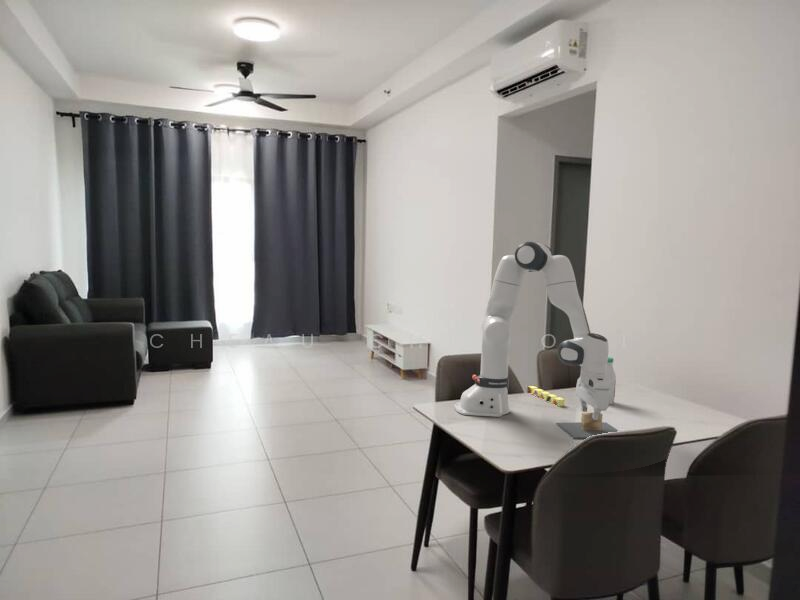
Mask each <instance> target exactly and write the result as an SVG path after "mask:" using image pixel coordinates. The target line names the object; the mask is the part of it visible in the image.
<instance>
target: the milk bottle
mask: <svg viewBox="0 0 800 600" xmlns="http://www.w3.org/2000/svg"><path fill="white" fill-rule="evenodd" d="M613 364H614V358H613V357H609V356H608V361H607V364H606V370H607V373H606V376H607V378H608V380H609V381H610V383H611V384H612V387H611V389H609V391H610V398H609V405H613V404H614V403H615V398H616V397H615V396H616V395H615V394H616V381H617V380H616V379H617V378H616V372H615V370H614V367H613Z"/></svg>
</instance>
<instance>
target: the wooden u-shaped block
mask: <svg viewBox="0 0 800 600" xmlns="http://www.w3.org/2000/svg"><path fill="white" fill-rule="evenodd" d="M593 413H594V412H582V413H581V429H582V430H602V422H603V416H604V415H603V413H601V412H600V414H599V416H598V420H594V419H592V414H593Z"/></svg>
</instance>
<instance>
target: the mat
mask: <svg viewBox="0 0 800 600" xmlns="http://www.w3.org/2000/svg"><path fill="white" fill-rule="evenodd" d="M555 424H556V425H557V426H558V427H560V429H561V430H563V431H564V432H565V433H566V434H567V435H569V436H570V437H573V438H572V439H573V440H585V439H584V438H587V437H589V436H592V435H597V434H602V433H608V432H617V431H619V430H618V429H617V428H616V427H614V426H613V425H611V424H609V422H604V421H602V430H582V429H581V422H580V421H579V422H578V421H577V422H575V421H574V422H556V423H555ZM578 438H580V439H578Z"/></svg>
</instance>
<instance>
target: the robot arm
mask: <svg viewBox="0 0 800 600" xmlns="http://www.w3.org/2000/svg"><path fill="white" fill-rule="evenodd" d="M530 272H531V273H532V272H541V273H542V275H543V277H544V281H545V282H544V283H545V287H546V289H545V290H546V294H547V297H548V300H549V302H550V304H552V305H553V306H554V307H556V308H557V309H559V310H561V311H563V312H564V313H565V314H566V315H567V317H568V319H569V323H570V327H571V330H572V334H573V338H572V339H566V340H564V341H562V342H560V343H559V345H558V347H557V351H556V353H557V357H558V359H559V361H560V362H561V363H562V364H563V365H566V366H580V374H579V378H577V381H576V387H575V395H576V397H577V398H579V399H580V401H579V402H580V411H581V412H582V413H588V405H589V406H591V407H592V408H593V412H592V413H593V414H592V419H594V420H598V416H599V414H600V413H601V412H602V411H603V412H605V411H607V410H608V408H609V405H610V404H609V398H610V391H609V389H611V387H612V384H611V383H610V381H609V380H608V378H607V376H606V373H607V370H606V364H607V361H608V357H609V342H608V339H607V338H606V337H605V336H603V335H601V334H598V333H593V332H591V329H590V326H589V323H588V319H587V315H586V311H585V308H584V304H583V302H582V300H581V296H580V294H579V290H578V286H577V280H576V276H575V272H574V268H573V265H572V262H571V261H570V259H569V258H568V257H567V256H566V255H562V254H556V255H554V253H553V251H552V249H551V248H550V247H549V246H547V245H546V244H543V243H541V242H538V241H537V242H535V241H525V242H523V243H520V245H518V246H517V247H516V249H515V252H514V254H507V255H504V256H503V257H502V258H500V261H499V263H498V265H497V269H496V271H495V273H494V274H495V275H494V279H493V282H492V285H491V290H490V294H489V297H488V298H489V299H488V302H487V307H486V309H485V313H484V317H483V320H482V326H481V328H482V340H481V341H482V342H481V353H480V354H481V356H480V374H479V375H478V376H477V375H476V374H473V375H472V380H474V384H473V385H472V386H470V387H469V388H468V389H466V390H464V391H463V392H462V394H461V396H460V400H459V402H456V403H455V404H454V410H455V411H456V412H457V413H459V414H461V415H464V416H475V417H477V416H478V417H480V416H481V417H494V418H495V417H496V418H498V417H499V418H500V417H503V415H507V414H509V413H510V412H511V409H510V405H509V396H508V391H509V386H510V381H509V360H510V350H511V340H512V339H511V338H512V327H511V323H512V320H513V316H514V313H515V310H516V308H517V306H518V305H517V304H518V300H519V297H520V292H521V287H522V283H523V279H524V277H525V274H526V273H530ZM587 404H588V405H587Z"/></svg>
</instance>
